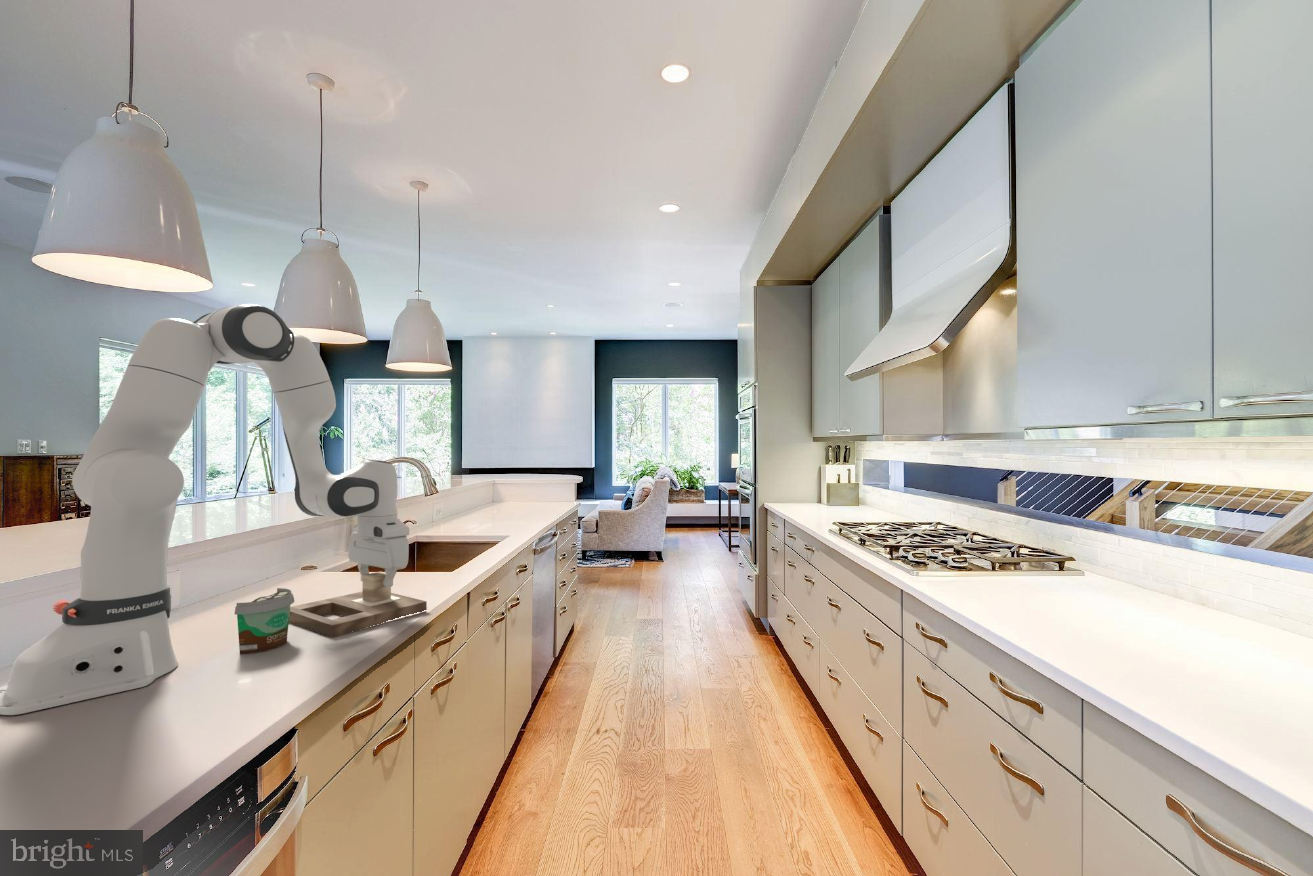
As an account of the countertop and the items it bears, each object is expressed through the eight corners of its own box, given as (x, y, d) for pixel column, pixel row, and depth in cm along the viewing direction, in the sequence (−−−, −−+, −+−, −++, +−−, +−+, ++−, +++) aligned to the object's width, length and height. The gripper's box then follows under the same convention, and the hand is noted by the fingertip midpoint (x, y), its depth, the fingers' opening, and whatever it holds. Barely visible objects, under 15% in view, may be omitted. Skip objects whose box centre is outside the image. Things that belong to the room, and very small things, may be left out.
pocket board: (332, 637, 118) (332, 624, 118) (282, 619, 130) (282, 607, 130) (426, 611, 136) (426, 600, 136) (375, 598, 148) (375, 588, 148)
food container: (265, 657, 107) (266, 603, 107) (233, 657, 107) (234, 603, 107) (307, 635, 119) (308, 587, 119) (278, 635, 119) (279, 587, 119)
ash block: (372, 602, 134) (373, 577, 134) (362, 600, 136) (362, 575, 137) (390, 598, 138) (391, 573, 138) (380, 595, 140) (380, 571, 140)
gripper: (341, 524, 140) (340, 580, 140) (388, 531, 129) (388, 592, 129) (366, 522, 146) (365, 576, 145) (413, 528, 134) (413, 587, 134)
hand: (376, 584), depth 137 cm, fingers open, 8 cm apart
